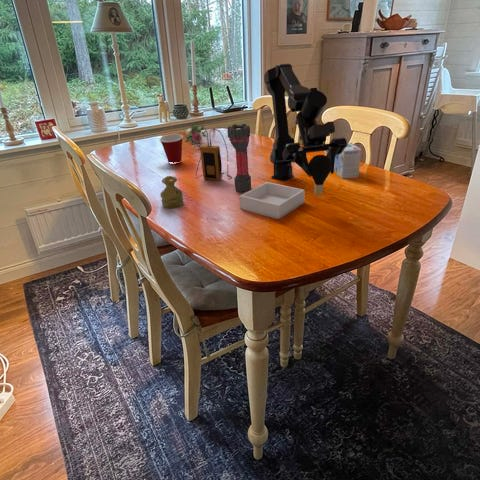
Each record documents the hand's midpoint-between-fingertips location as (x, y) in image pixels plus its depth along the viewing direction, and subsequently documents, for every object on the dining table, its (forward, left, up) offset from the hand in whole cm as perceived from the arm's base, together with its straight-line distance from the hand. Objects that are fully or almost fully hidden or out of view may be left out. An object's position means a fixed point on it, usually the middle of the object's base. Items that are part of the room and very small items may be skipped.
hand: (321, 174), depth 106 cm
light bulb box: (-9, +38, -12) cm, 41 cm away
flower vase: (-101, +45, -12) cm, 111 cm away
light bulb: (-1, +1, -7) cm, 7 cm away
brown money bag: (-45, -20, -12) cm, 51 cm away
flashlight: (-33, +3, -12) cm, 35 cm away
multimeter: (-52, +10, -12) cm, 54 cm away
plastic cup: (-82, +14, -12) cm, 84 cm away
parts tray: (-15, -3, -12) cm, 20 cm away
